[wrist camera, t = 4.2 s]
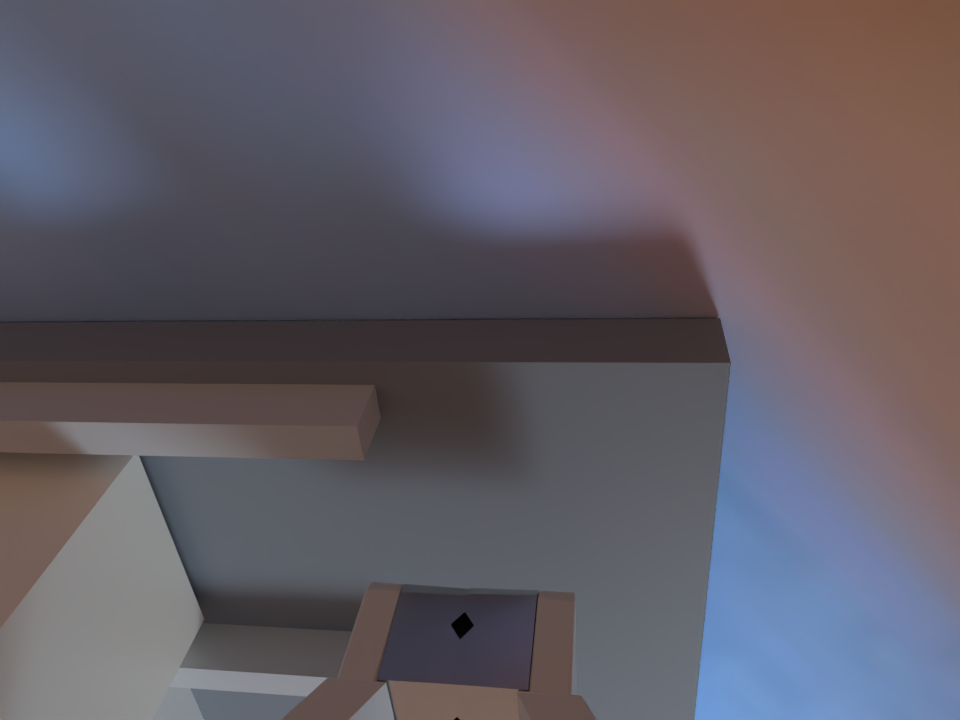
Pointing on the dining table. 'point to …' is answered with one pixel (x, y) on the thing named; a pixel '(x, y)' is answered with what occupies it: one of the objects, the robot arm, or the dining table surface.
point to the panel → (402, 480)
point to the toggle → (87, 590)
